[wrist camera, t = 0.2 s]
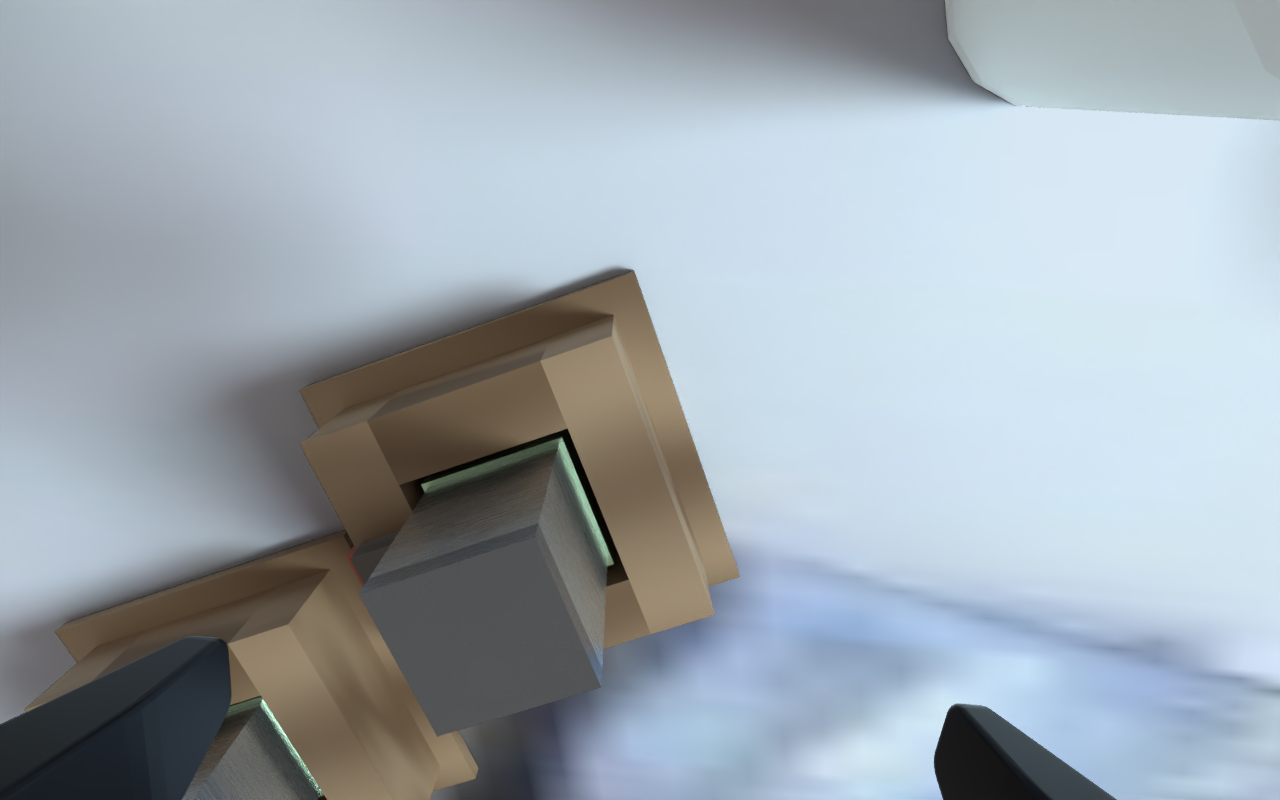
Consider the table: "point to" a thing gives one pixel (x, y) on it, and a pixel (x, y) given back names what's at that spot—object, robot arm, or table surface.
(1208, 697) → the table surface
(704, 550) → the marked collar
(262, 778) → the plain post
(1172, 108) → the foam cup
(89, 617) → the wooden square base
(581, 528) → the marked post
